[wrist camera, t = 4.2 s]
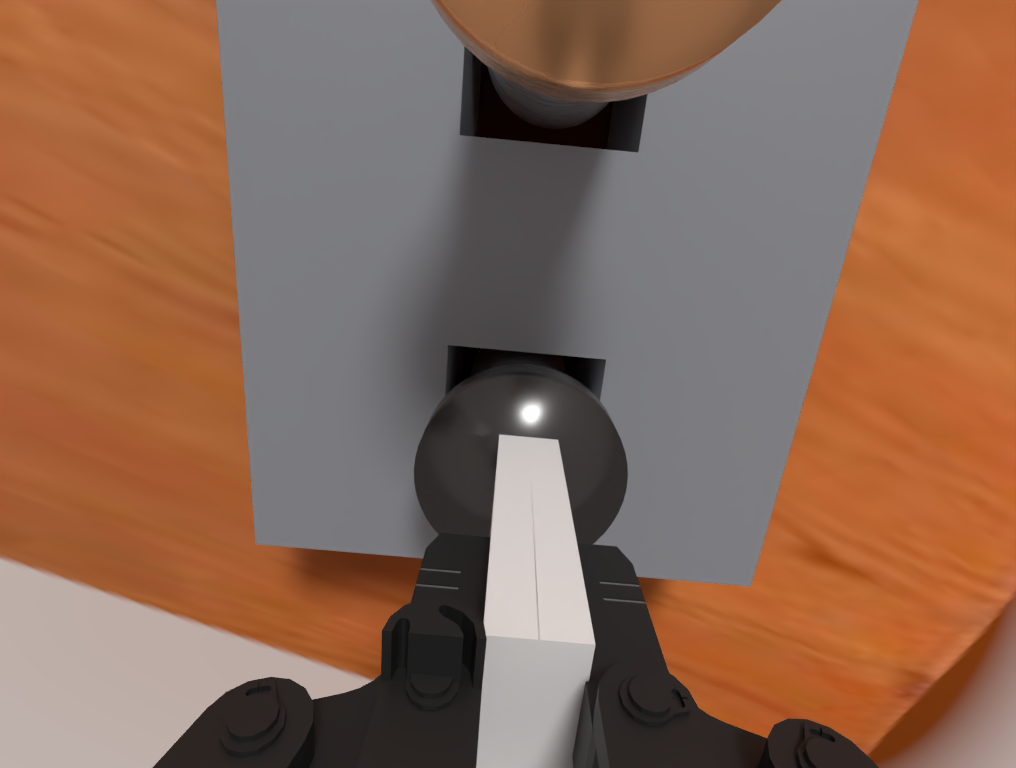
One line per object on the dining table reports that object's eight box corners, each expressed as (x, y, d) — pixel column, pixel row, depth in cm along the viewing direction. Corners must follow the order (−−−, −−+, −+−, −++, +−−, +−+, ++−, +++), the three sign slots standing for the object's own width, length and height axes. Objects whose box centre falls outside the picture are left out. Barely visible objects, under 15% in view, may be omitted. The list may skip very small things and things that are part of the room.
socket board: (316, 466, 24) (255, 544, 19) (300, -118, 17) (195, -279, 12) (696, 500, 25) (750, 586, 19) (826, -63, 18) (974, -195, 12)
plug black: (450, 429, 23) (410, 560, 14) (457, 305, 21) (417, 367, 13) (574, 440, 23) (610, 577, 14) (592, 317, 21) (645, 388, 13)
